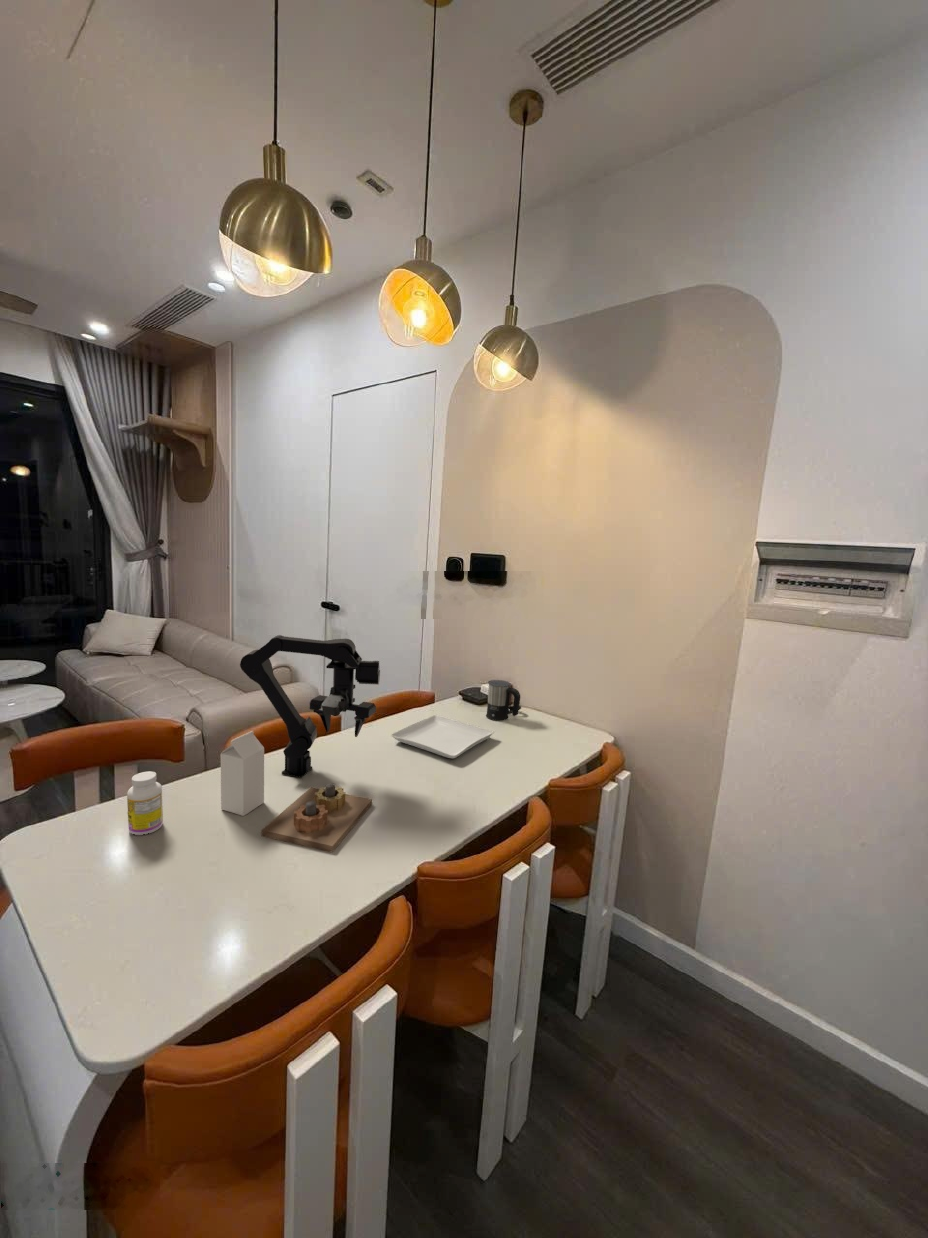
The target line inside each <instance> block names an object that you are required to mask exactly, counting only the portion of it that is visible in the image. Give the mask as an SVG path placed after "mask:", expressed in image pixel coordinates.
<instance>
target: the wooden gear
mask: <svg viewBox="0 0 928 1238" xmlns="http://www.w3.org/2000/svg"><path fill="white" fill-rule="evenodd" d="M318 789H319V791H318V792H315V797H314V802H316V805H324V806H326V810H328V812H331V811H333V810H340V809H341V808H342V805H345V800H346V794H347V792H346V791H344V787H342V786H340V787H337V786H335V796H334V797H330V798H329V797H325V787H320V788H318Z"/></svg>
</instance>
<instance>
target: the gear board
mask: <svg viewBox="0 0 928 1238" xmlns="http://www.w3.org/2000/svg"><path fill="white" fill-rule="evenodd" d="M335 787H336V784H334V783H328V784H326V785H325V786H324V788H325V797H329V798H330V797H334V796H335ZM319 789H320V788H318V787H314V786H313V787H312V786H311V787H309V788H308V789H307V790H306V791H305V792H303V793H302V794H301V795H300V796H299V797H298V798H296V799H295V800H294V801H293V802H292V803H290V805H288V806H287V807H286V808H285V809H284V810H282V811H281V813H279V814H278V815H277V816H276V817H275V818H273V819H272V820H271V821H270V822H269V823H267V825H265V826H264V827H263V828H262V829H261V837H265V838H269V839H272V840H273V839H275V840H278V841H282V842H287V843H291V844H295V845H299V846H304V847H309V848H313V849H318V850H321V851H326V852H330V853H333V852H334V851H335V850H336V848H337V847H338V846H339V845H340V844H341V842H342V841H343V840H344V839H345V837H346V836H347V835H348V834H349V833H350V831H352V830H353V828H354V827H355V825H357V823H358V822H359V821H360V820H361V819H362V817H363V816H364V815H365V814H366V812H367V811H368V810H369V809H370V808H371V806H372V805H373V799H372V798H368V797H363V796H357V795H353V794H349V793H346V800H345V805H342V808H341V809H340V810H333V811H331V812H328V810H326V806H324V805H316V802H314V797H315V792H318V791H319Z"/></svg>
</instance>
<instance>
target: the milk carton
mask: <svg viewBox="0 0 928 1238" xmlns="http://www.w3.org/2000/svg"><path fill="white" fill-rule="evenodd" d="M254 732H255V731H254V730H251V731H249V732H247V733H244V734H242V735H240V736H238V737H235V738H233V739H232V740H231V741H230V745H229V746H228V747H227V748H225V749H224V750H223V751H222V752H221V753H220V810H223V811H226V812H229V813H233V814H236V815H239V816H242V817H244V816H247V814H249V813H251V812H252V811H253V810H255V809H256V808H258V807H259V806H261V805H262V804H264V803H265V747H264V746H263V744H262V743H261V742H260V741H259V739H258V738H257V737H256V736H255V734H254Z"/></svg>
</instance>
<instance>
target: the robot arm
mask: <svg viewBox="0 0 928 1238" xmlns="http://www.w3.org/2000/svg"><path fill="white" fill-rule="evenodd" d="M356 649H357V648H356V644H355V643H354V641H353V640H351V639H350V638H334V639H328V640H321V639H320V640H319V639H313V638H312V639H310V638H301V637H292V636H284V635H282V634H279V635H275V636H274V637H272V638H271V639H270V640H269V641H268V642H267V643H265V644H264V645H263V646H262V647H260V648H259V649H253V650H252V651H250V652H248V653H247V654H245V655H244V656H242V658H241V659H240V663H239V667H240V669H241V670H242V672H243V674H245V675H246V676H247V678H249V679H250V680H252V682H255V683H256V684H257V685H259V686H260V688H261V690H262V691H263V693H264V694H265V696H266V698H268V700H269V702H270V703H271V705H272V706H273V708H274V710H275V711H276V712H277V714H278V716H279V717H280V718H281V720H282V722H283V724H285V726H286V732H287V735H288V736H287V737H288V738H289V742H288V743H287V745H286V747H285V748H284V749H283V755H284V769H283V770H282V771H281V775H285V776H291V777H295V778H302V777H303V776H305V775H306V774H308V773H309V771H311V770H312V769H313V765H311V764H312V756H311V755H310V753H311V751H310V750H309V749H311V748H312V746H313V744H314V742H315V740H316V739H317V735H318V731H317V727H318V726H317V725H315V724H314V722H313V720H312V718H311V716H308V717H306V718H305V717H303V716H302V715H301V714H300V713H299V711H298V710H297V709H296V707H295V706H294V704H293V702H292V701H291V699H290V698H289V696H288V695H287V693H286V691H285V690H284V689H283V687H282V686H281V684H280V682H279V681H278V680H277V678H276V676H275V674H274V670H273V665H272V662H271V659H270V658H271V657H273V656H274V655H275V654H277V653H278V652H285V653H296V654H304V655H313V656H321V657H324V658H327V659H328V660H331V661H330V662H328V664H327V665H326V666H325V667H326V669H333V671H332V672H333V675H332V677H333V678H332V679H333V680H332V687H330V690H329V694H328V695H321V694H319V695H317V696H315V697H314V698H312V699H311V700H310V701H309V704H308V705H309V707H308V708H309V710H311V711H313V713H314V714H315V713H316V714H317V715H318V716H319V718H320V719H321V721H322V724H323V726H324V730H325V732H326V733H329V732H330V729H331V722H332V721H331V720H332V719H331V718H332V716H333V717H338V716H340V714H341V712H343V713H346V712H347V711H351V712H354V715H356V716H354V721H355V724H354V737H355V738H358V736H359V735H360V732H361V730H362V727H363V725H364V723H365V721H366V719H369V718H370V717H372V715H374V714H376V712H377V706H376V704H375V703H373V702H370V701H369V702H368V701H362V702H360V703H359V704H354V703H355V702H356V698H355V697H354V689H356V684H354V680H355V681H356V683H358V684H359V685H380V681H381V680H380V677H381V669H380V660H363V658H362V657H361V655H360V654H359V653H358V651H357V650H356ZM354 672H355V673H354ZM354 674H355V675H354ZM354 678H355V679H354Z"/></svg>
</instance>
